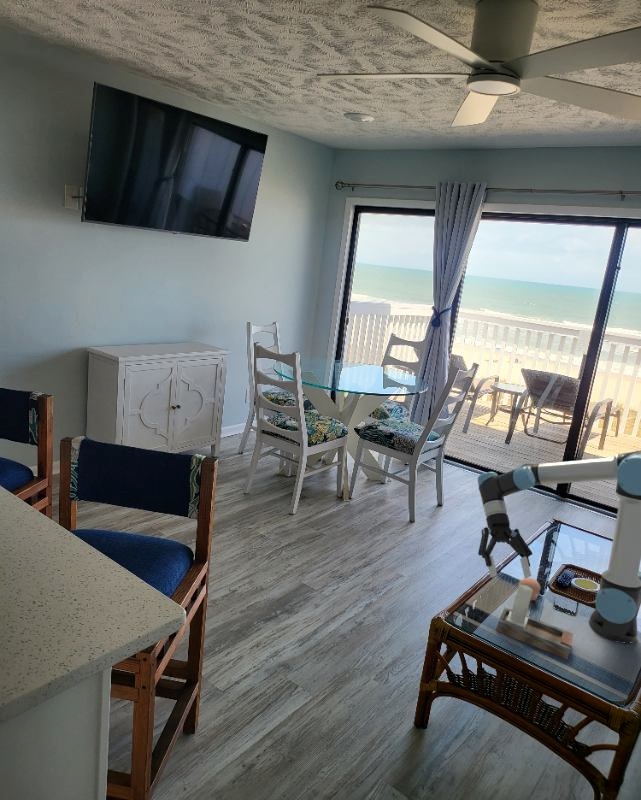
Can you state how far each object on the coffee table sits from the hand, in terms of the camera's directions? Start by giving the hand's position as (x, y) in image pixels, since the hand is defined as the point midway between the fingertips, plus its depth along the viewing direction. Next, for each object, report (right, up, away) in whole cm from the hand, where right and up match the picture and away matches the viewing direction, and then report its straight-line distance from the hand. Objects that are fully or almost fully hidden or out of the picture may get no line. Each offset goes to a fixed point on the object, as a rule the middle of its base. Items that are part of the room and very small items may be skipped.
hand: (511, 576), depth 203 cm
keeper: (+1, -14, -4) cm, 14 cm away
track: (+5, -18, -6) cm, 19 cm away
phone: (+27, -17, +22) cm, 38 cm away
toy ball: (+12, -14, +20) cm, 27 cm away
